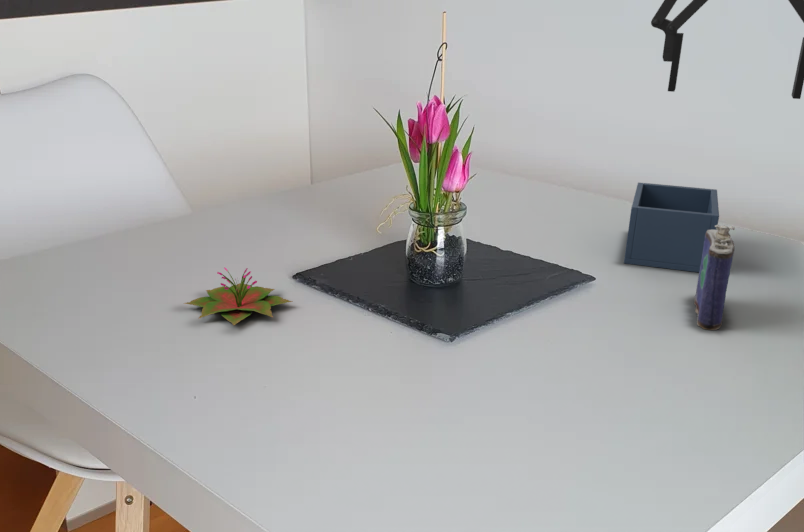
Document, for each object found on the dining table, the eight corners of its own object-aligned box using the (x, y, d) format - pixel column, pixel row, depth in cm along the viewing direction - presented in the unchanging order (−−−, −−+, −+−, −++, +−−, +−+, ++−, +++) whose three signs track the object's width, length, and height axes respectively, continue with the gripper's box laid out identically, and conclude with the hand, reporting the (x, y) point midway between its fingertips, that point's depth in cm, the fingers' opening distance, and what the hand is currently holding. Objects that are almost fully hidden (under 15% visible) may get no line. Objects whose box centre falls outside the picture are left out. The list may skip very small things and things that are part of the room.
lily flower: (311, 306, 98) (311, 270, 96) (232, 338, 89) (230, 299, 88) (243, 281, 105) (242, 246, 103) (165, 308, 97) (161, 271, 95)
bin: (707, 242, 120) (717, 189, 117) (708, 273, 108) (719, 215, 105) (630, 233, 124) (637, 182, 121) (623, 263, 112) (631, 207, 109)
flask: (692, 298, 101) (708, 212, 96) (718, 301, 100) (735, 215, 96) (696, 328, 93) (713, 236, 88) (724, 332, 92) (743, 239, 88)
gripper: (643, -105, 92) (619, 91, 100) (904, -110, 83) (855, 105, 92) (649, -101, 99) (626, 83, 107) (892, -106, 90) (847, 95, 98)
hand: (732, 93), depth 99 cm, fingers open, 13 cm apart
